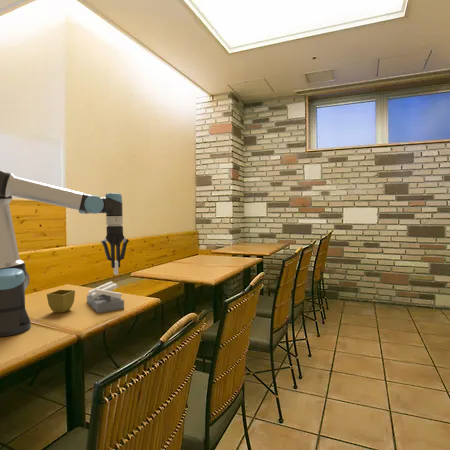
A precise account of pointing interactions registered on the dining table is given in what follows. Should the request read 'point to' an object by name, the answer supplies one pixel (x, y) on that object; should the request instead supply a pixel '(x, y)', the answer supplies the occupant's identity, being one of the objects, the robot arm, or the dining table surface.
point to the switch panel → (105, 303)
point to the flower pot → (61, 300)
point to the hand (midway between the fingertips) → (116, 274)
